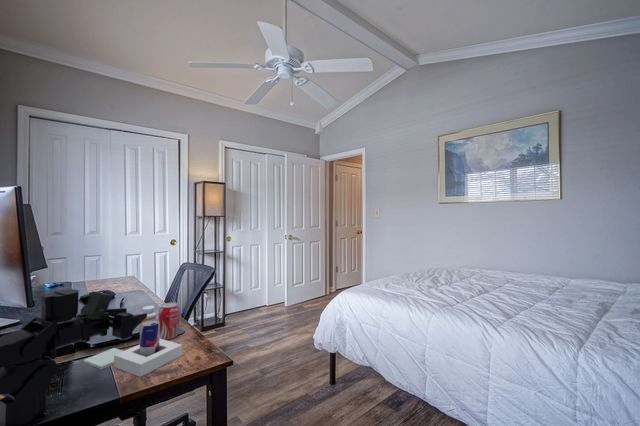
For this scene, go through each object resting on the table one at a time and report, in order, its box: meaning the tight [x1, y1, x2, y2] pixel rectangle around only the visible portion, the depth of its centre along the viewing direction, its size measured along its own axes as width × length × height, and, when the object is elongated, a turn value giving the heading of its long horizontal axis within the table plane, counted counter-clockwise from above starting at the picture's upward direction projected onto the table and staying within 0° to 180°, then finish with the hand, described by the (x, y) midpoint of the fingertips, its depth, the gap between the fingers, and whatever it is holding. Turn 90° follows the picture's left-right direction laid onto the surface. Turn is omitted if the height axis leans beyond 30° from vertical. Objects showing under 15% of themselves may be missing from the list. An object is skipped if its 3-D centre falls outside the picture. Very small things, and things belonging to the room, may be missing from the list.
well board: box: [113, 338, 183, 377], centre depth 92 cm, size 14×12×4 cm
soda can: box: [157, 301, 180, 341], centre depth 110 cm, size 7×7×12 cm
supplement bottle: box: [139, 305, 157, 327], centre depth 113 cm, size 5×5×10 cm
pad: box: [83, 347, 124, 370], centre depth 92 cm, size 9×9×1 cm
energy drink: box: [139, 319, 161, 357], centre depth 92 cm, size 5×5×12 cm
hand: (136, 312), depth 88 cm, fingers open, 9 cm apart
